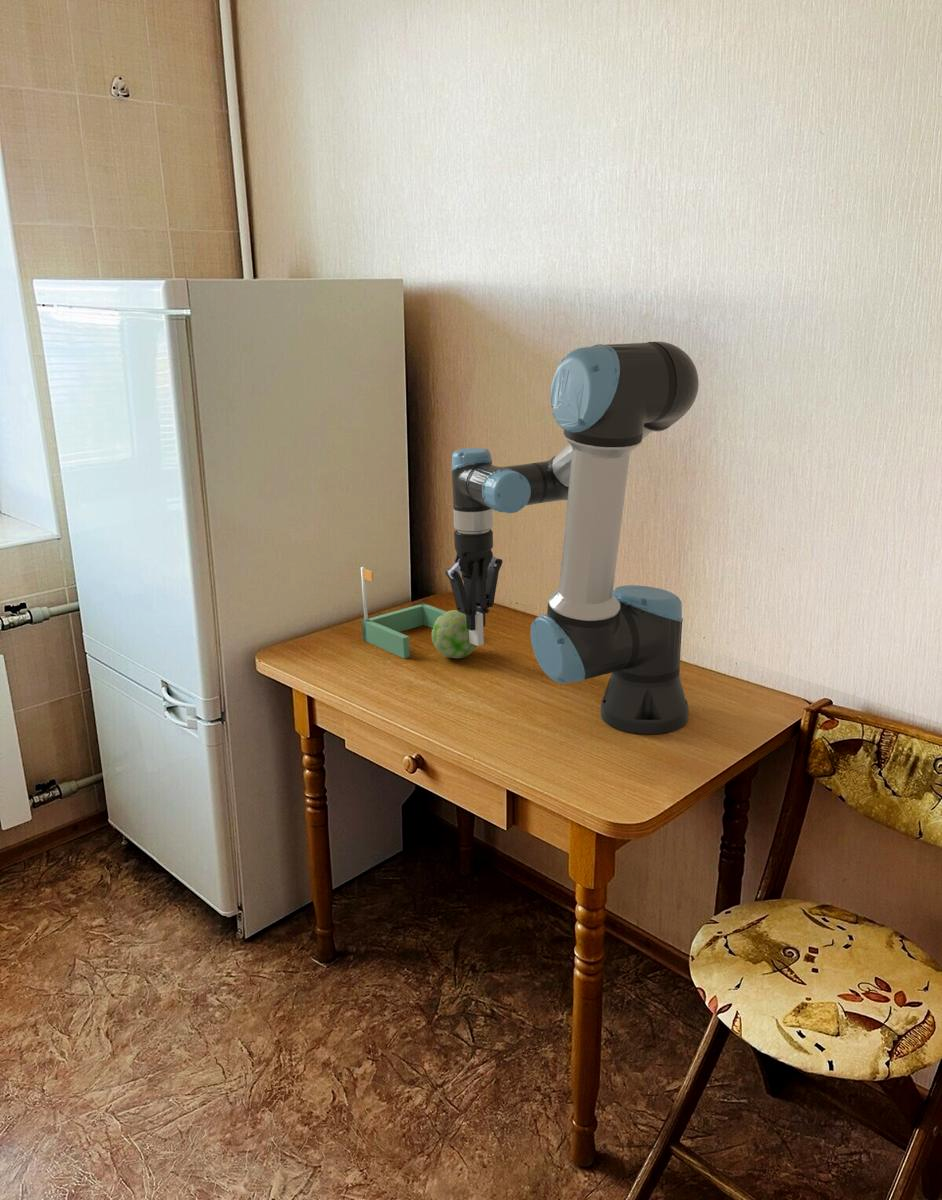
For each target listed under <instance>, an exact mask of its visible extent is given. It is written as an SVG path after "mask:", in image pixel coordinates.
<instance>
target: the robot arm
mask: <svg viewBox="0 0 942 1200" xmlns="http://www.w3.org/2000/svg"><path fill="white" fill-rule="evenodd" d="M551 381H552V382H551V385H550V394H549V396H550V398H549V401H550V406H551V407H550V408H553V411H552V416H553V419H554V420H555V422H556V423H557V424H558V426H559V427H560V428H561V429H563V438H564V439H565V440H566V441H567V443H568V444H567V445H566V446H565V447H563V448H562V449H561V450H560V451H558V452H557V454H555V455H554V456H553V457H551V458H550V459H549V460H546V461H540V462H539V461H538V462H532V463H531V462H530V463H525V464H516V465H508V466H496V465H493V460H492V454H491V452H490V450H489V449H488V448H487V449H486V448H483V447H468V448H467V447H466V448H464V447H463V448H459V449H456V450H455V451H454V452H453V453H452V455H451V469H450V473H451V487H452V506H453V507H452V509H453V528H454V529H455V531H454V532H453V540H454V541H453V543H454V544H453V545H454V551H456V556H455V558H454V563H455V564H453V566H452V567H451V568H446V569H445V575H446V577H448V580H449V583H450V586H451V591H452V594H453V598H454V603H455V607H456V610H457V611H458V612H461V613H463V614H466V627H467V629H469V643H471V644H474V645H476V647H480V646H483V645H484V644H485V641H484V628H485V627H486V614H488V613H489V612H490V609H489V608H493V607H494V604H495V602H494V601H495V598H496V597H495V596H496V591H497V585H498V578H499V573H500V572H499V571H500V569H501V567H502V564H503V562H504V561H503V559H501V558H498V557H496V556H494V555H493V551H492V549H493V547H494V531H493V530H492V528H493V527H494V525H493V524H494V519H493V510H494V511H495V512H496V511H497V512H499V513H505V514H514V513H517V512H519V511H521V510H522V509H523V508H525V507H526V506H532V505H537V504H545V503H553V502H558V501H559V502H560V501H567V503H566V511H565V512H566V513H565V521H564V522H565V523H564V533H563V541H562V553H561V562H560V563H561V564H560V572H559V573H560V574H559V583H558V589H555V591H554V590H553V592H552V593H551V594H550V595H549V596H548V601H547V612H546V614H540V615H539V616H538V617H536V618H535V619H534V620H533V621H532V623H531V626H530V641H531V648H532V651H533V655H534V656H535V659H536V660H537V663H538V664H539V666H540V668H541V670H542V671H543V672H544V674H545V675H546V676H547V677H548V678H549V679H550V680H552V681H553V682H556V683H558V684H563V685H564V684H570V683H575V682H577V683H581V682H583V681H585V680H587V679H592V678H596V677H600V676H603V675H607V674H610V677H609V680H608V682H607V686H606V687H605V691H604V695H603V697H602V699H601V703H600V716H601V718H602V721H604V723H606V724H607V725H608V726H610V727H612V728H614V729H616V730H619V731H623V732H627V733H631V734H637V735H638V734H639V735H658V734H659V735H660V734H666V733H671V732H674V731H677V730H679V729H681V728H683V727H684V726H686V724H687V723H688V720H689V702H688V701H687V699H686V697H685V692H684V689H683V685H682V684H683V683H682V681H681V677H680V674H681V673H680V670H681V652H682V651H681V649H682V634H683V633H682V632H683V631H682V630H683V621H684V618H683V609H682V607H683V604H682V600H681V598H680V597H679V596H678V595H676V594H675V593H673V592H670V591H668V590H665V589H662V588H658V587H657V588H656V587H653V586H648V585H633V584H632V585H631V584H629V585H620V586H617V587H616V588H614V586H615V585H614V584H615V578H616V577H615V576H616V570H617V563H618V562H617V560H618V552H619V545H620V544H619V543H620V536H621V528H622V522H623V521H622V519H623V513H624V504H625V503H624V502H625V497H626V496H625V494H626V490H627V489H626V487H627V479H628V473H629V471H628V470H629V462H630V455H631V452H632V451H634V450H635V449H636V448H638V447H639V446H640V445H641V444H642V442H643V440H644V439H645V438H646V437H648V436H649V435H650V434H652V432H657V433H658V432H663V431H666V430H668V429H669V428H671V426H673V425H674V424H676V422H678V421H679V420H680V419H681V418H683V417H684V416H685V415H686V414H687V413H688V412H689V410H690V409H691V408H692V406H693V405H694V403H695V401H696V399H697V395H698V392H699V374H698V371H697V367H696V365H695V363H694V362H693V360H692V359H691V357H690V356H689V355H688V354H687V353H686V351H684V350H683V349H682V348H680V347H679V346H677V345H675V344H672V343H669V342H666V341H665V342H664V341H648V342H634V343H631V342H630V343H615V344H614V343H613V344H612V343H611V344H607V343H606V344H602V343H599V344H593V345H591V346H585V347H584V346H583V347H580V348H579V347H578V348H576V349H573V350H572V351H570V352H569V353H567V355H566V356H565V357H564V358H563V359H561V361H560V362H559V363H558V365H557V367H556V369H555V370H554V374H553V378H552V380H551Z"/></svg>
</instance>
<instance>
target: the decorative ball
mask: <svg viewBox="0 0 942 1200" xmlns="http://www.w3.org/2000/svg"><path fill="white" fill-rule="evenodd" d="M431 629H432V628H431ZM431 641H432V643H433V646H434V648H435V649H436V650H437V651H438V652H439V653H440V654H441V655H442V656H444V657H446V658H449V659H450V658H451V659H462V658H463V659H464V658H465V657H467V656H468V655H471V654H472V653H473V651H475V649H476V648H477V646H476V645H474V644H471V643H469V629H467V627H466V614H463V613H461V612H458V611H457V609H452V610H448V611H446V613H444V614H443V615H441V616H439V617H438V618H437V620H436V621H435V624H434V626H433V629H432V630H431Z"/></svg>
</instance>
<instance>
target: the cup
mask: <svg viewBox="0 0 942 1200" xmlns="http://www.w3.org/2000/svg"><path fill="white" fill-rule="evenodd" d="M373 573H374V572H373V571H372V570H370V569H366V568H365V566H361V567H360V574H361V575H360V576H361V589H362V602H363V603H362V605H363V619H362V620H361V635H362V640H363V641H365V642H366V643H369V644H370V645H373V646H376V647H378V648H380V649H381V650H384V651H386V652H388V653H390V654H393V655H396V656H397V657H400V658H402V659H404V660H405V659H409V658H411V652H410V651H411V650H410V649H411V648H410V636H408V635H406V634H403V633H402V632H404V631H408V630H410V629H411V630H412V629H414V628H419V627H422V626H425V627H427V626H428V627H427V628H430V627H431V628H430V629H432V628H433V626H434V624H435V621H436V620H437V618H438V617H439V616H441V615H443V614H444V613H446V612H447V610H443V609H441V608H438V607H435V606H433V605H429V604H427V603H420V604H416V605H413V606H410V607H405V608H402V609H401V608H400V609H397V610H395V611H391V612H387V613H384V614H380V615H377V616H373V617H370V618H369V616H368V615H369V614H368V613H369V611H368V599H367V598H368V597H367V585H366V581H369V582H371V583H373V582H374V574H373Z"/></svg>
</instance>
